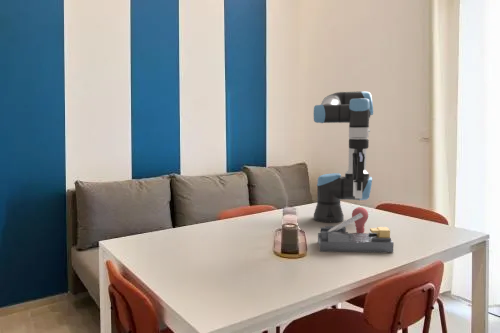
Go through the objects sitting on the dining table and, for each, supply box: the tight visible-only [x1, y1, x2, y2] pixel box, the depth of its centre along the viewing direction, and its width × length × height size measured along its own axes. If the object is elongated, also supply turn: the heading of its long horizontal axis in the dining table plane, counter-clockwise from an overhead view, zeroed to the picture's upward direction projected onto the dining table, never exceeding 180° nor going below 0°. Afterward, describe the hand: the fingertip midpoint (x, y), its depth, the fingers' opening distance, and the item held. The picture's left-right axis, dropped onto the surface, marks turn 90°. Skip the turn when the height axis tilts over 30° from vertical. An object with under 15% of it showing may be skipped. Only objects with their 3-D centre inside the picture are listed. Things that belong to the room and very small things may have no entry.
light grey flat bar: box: [328, 213, 363, 232], centre depth 167 cm, size 18×3×1 cm
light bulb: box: [351, 206, 369, 234], centre depth 186 cm, size 7×7×12 cm
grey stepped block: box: [317, 225, 394, 253], centre depth 168 cm, size 28×12×7 cm, turn 85°
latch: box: [369, 226, 391, 238], centre depth 166 cm, size 7×5×4 cm
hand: (357, 197), depth 165 cm, fingers open, 4 cm apart
